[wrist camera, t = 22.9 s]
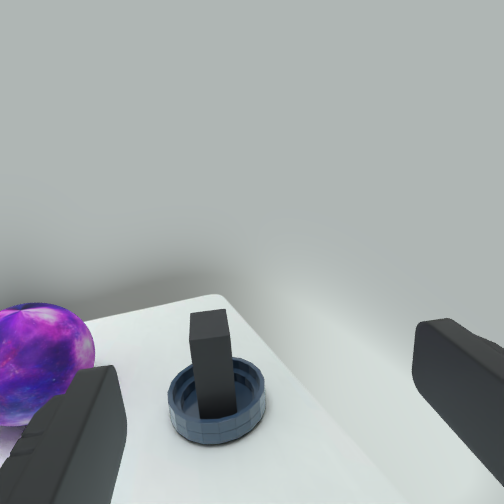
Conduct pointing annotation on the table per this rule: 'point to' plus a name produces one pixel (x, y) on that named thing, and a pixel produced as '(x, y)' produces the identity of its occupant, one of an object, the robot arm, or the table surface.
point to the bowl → (225, 428)
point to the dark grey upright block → (212, 364)
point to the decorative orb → (39, 357)
